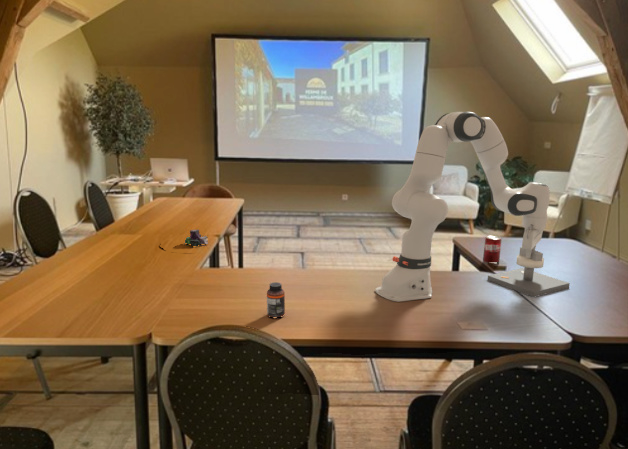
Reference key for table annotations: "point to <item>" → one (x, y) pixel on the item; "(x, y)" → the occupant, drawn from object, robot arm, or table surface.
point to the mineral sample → (196, 238)
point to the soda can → (492, 249)
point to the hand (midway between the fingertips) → (530, 255)
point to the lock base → (528, 281)
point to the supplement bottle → (275, 300)
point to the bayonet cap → (530, 259)
